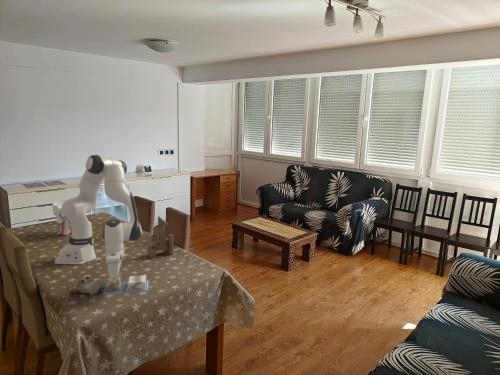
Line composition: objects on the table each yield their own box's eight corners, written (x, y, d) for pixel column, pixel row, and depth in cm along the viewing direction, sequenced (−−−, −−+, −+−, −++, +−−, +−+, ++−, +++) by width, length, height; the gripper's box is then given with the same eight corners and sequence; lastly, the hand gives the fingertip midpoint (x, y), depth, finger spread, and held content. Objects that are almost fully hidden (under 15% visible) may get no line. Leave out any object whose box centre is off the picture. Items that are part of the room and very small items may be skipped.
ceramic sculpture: (90, 282, 168) (65, 279, 173) (92, 299, 170) (66, 296, 174) (105, 273, 178) (81, 271, 183) (107, 290, 180) (82, 287, 184)
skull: (51, 231, 266) (49, 201, 261) (78, 227, 277) (77, 199, 273) (57, 241, 246) (55, 209, 242) (87, 236, 258) (85, 205, 253)
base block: (128, 290, 178) (128, 282, 178) (130, 283, 186) (130, 276, 185) (145, 289, 180) (145, 281, 180) (146, 282, 188) (146, 275, 187)
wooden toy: (150, 258, 222) (149, 219, 217) (147, 254, 228) (146, 217, 223) (174, 254, 230) (174, 216, 226) (170, 251, 236) (170, 214, 231)
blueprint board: (102, 297, 173) (102, 294, 173) (106, 284, 186) (106, 282, 186) (149, 293, 178) (149, 291, 178) (150, 281, 191) (150, 279, 191)
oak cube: (108, 290, 178) (108, 281, 177) (110, 285, 182) (110, 276, 182) (119, 289, 179) (119, 280, 178) (120, 285, 184) (120, 276, 183)
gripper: (111, 246, 187) (112, 270, 189) (105, 260, 167) (106, 288, 170) (123, 245, 188) (124, 269, 191) (119, 259, 169) (120, 287, 171)
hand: (116, 278), depth 180 cm, fingers open, 8 cm apart
